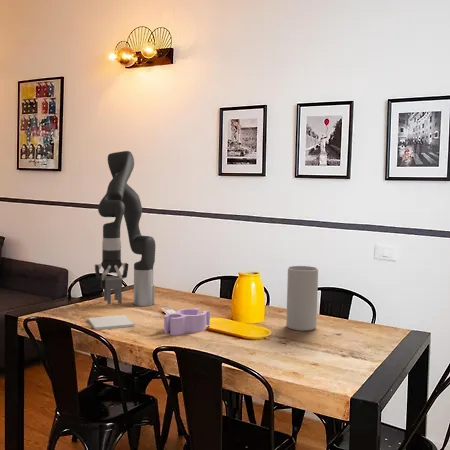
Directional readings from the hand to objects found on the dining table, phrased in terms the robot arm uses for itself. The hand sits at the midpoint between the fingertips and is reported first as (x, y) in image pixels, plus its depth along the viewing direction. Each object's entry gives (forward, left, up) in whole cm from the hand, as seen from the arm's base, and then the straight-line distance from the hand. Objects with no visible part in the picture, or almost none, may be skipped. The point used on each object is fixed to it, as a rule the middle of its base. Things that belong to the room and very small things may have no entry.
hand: (111, 288), depth 236 cm
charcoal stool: (0, +6, 0) cm, 6 cm away
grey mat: (0, -2, -15) cm, 15 cm away
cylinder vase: (-73, +31, -15) cm, 81 cm away
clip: (-27, +18, -16) cm, 36 cm away
